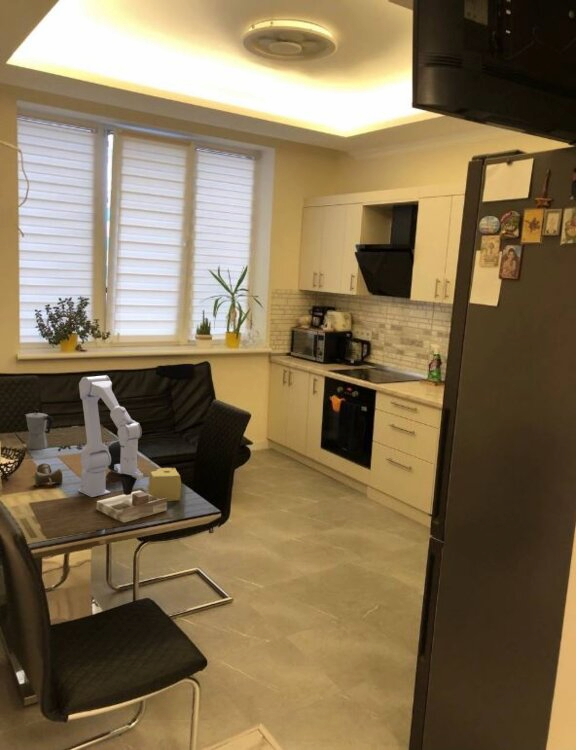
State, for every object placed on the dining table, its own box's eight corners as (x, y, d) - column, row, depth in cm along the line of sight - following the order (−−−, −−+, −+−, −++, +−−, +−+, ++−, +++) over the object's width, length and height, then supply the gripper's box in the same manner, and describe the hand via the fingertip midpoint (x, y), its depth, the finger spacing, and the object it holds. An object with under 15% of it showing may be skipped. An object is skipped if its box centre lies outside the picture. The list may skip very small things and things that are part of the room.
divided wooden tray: (96, 509, 218) (96, 497, 218) (139, 498, 232) (139, 486, 231) (123, 522, 208) (123, 509, 207) (166, 510, 222) (167, 498, 221)
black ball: (96, 478, 251) (97, 441, 249) (118, 470, 263) (119, 435, 261) (123, 484, 246) (123, 447, 244) (144, 475, 258) (145, 440, 256)
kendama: (56, 474, 255) (64, 488, 237) (31, 477, 250) (37, 492, 233) (56, 460, 254) (64, 473, 237) (30, 463, 249) (37, 476, 232)
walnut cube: (132, 504, 216) (132, 493, 216) (142, 502, 219) (142, 491, 219) (138, 508, 214) (138, 497, 213) (148, 505, 216) (148, 494, 216)
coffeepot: (18, 447, 288) (18, 408, 285) (32, 442, 296) (32, 405, 294) (45, 452, 283) (45, 413, 280) (59, 447, 291) (59, 409, 289)
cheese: (147, 493, 238) (148, 468, 236) (175, 491, 241) (176, 466, 240) (151, 503, 228) (152, 476, 226) (180, 501, 232) (181, 475, 230)
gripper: (107, 454, 221) (106, 491, 223) (131, 464, 212) (130, 502, 214) (124, 450, 226) (123, 487, 228) (148, 460, 217) (147, 498, 219)
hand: (127, 494), depth 222 cm, fingers closed
